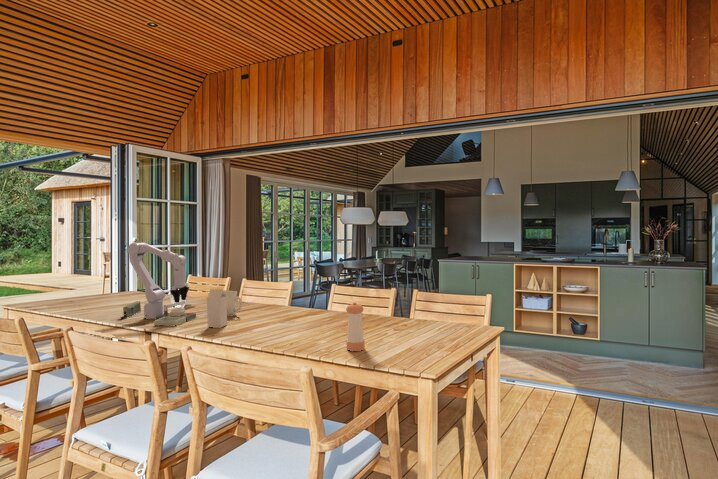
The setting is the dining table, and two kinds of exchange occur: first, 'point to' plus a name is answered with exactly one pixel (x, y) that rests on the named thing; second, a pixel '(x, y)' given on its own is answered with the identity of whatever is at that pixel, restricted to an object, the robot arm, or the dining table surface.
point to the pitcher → (232, 302)
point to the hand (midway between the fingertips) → (180, 301)
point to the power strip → (188, 316)
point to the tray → (170, 321)
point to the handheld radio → (131, 309)
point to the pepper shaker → (355, 328)
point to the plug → (177, 312)
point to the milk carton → (216, 308)
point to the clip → (171, 306)
